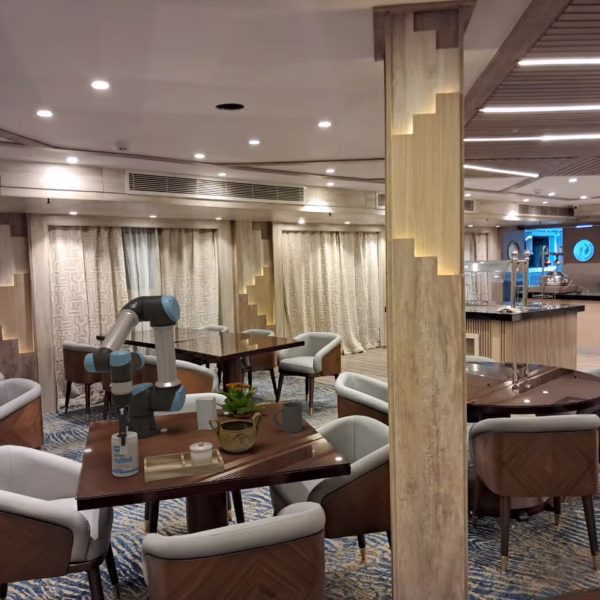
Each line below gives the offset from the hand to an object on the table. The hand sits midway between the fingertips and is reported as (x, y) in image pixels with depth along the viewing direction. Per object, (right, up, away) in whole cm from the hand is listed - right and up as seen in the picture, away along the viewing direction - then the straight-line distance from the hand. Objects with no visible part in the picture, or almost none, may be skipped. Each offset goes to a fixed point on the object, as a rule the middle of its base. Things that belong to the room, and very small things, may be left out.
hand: (124, 448), depth 207 cm
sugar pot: (+29, -8, +4) cm, 30 cm away
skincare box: (+22, -6, +56) cm, 60 cm away
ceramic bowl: (+40, -7, +23) cm, 46 cm away
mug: (+61, -5, +48) cm, 78 cm away
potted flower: (+37, -4, +77) cm, 85 cm away
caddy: (+22, -9, +2) cm, 24 cm away
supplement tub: (0, -10, +1) cm, 10 cm away
